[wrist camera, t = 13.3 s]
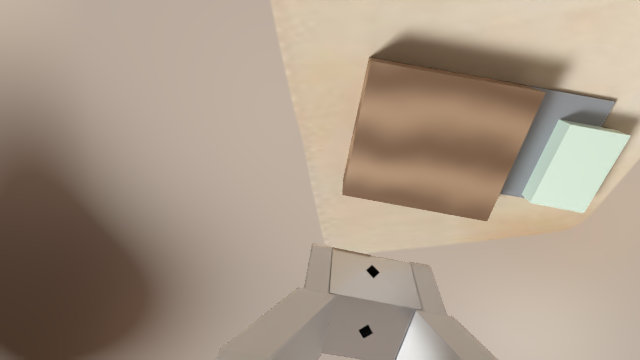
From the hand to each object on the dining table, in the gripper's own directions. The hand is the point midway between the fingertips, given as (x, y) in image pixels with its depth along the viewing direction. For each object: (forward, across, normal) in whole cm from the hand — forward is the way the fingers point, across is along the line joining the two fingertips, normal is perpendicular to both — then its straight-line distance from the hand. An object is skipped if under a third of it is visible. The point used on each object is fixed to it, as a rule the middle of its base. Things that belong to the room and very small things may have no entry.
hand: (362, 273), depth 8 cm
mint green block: (+27, -24, +4) cm, 36 cm away
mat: (+29, -22, +3) cm, 36 cm away
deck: (+29, -9, +4) cm, 31 cm away
